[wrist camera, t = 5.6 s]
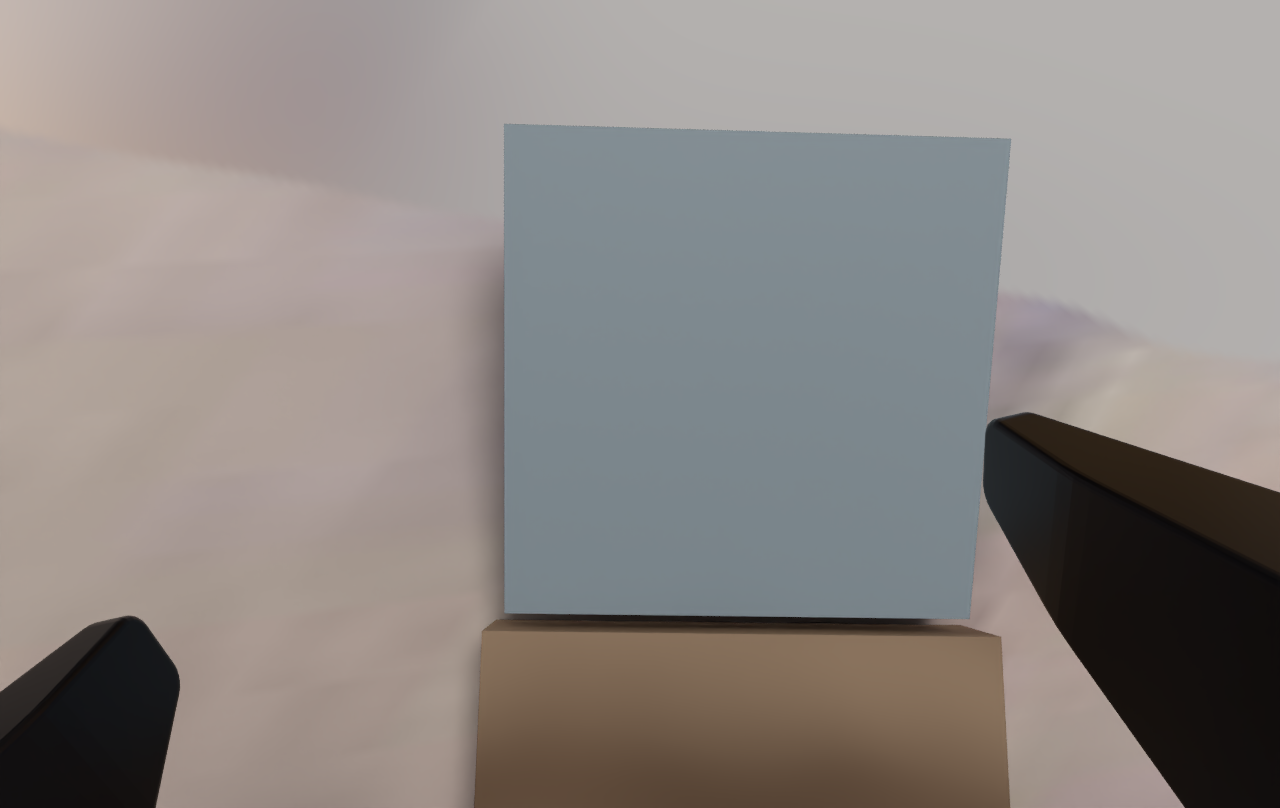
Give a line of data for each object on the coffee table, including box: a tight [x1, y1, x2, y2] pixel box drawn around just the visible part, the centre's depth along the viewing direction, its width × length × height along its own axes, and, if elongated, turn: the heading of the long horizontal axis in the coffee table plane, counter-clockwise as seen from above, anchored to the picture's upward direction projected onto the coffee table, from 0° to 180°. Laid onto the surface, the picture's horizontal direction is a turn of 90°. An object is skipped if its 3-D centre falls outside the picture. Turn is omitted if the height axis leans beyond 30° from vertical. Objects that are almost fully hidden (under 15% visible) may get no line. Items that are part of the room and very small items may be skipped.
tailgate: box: [504, 124, 1011, 619], centre depth 17 cm, size 2×10×10 cm
